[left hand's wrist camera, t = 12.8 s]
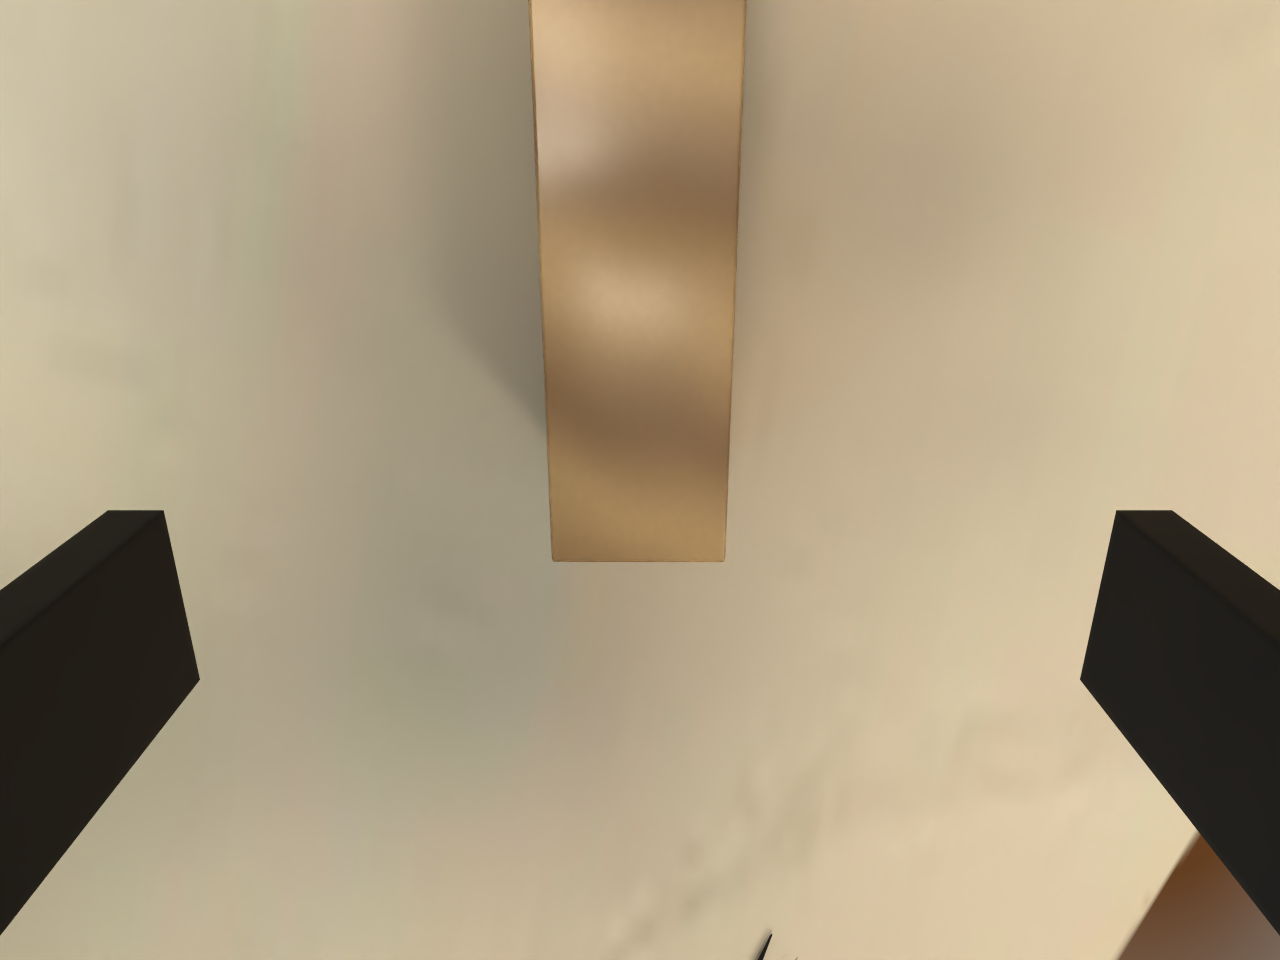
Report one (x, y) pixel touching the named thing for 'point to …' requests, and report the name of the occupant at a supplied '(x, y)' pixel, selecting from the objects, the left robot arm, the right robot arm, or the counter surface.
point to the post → (638, 270)
